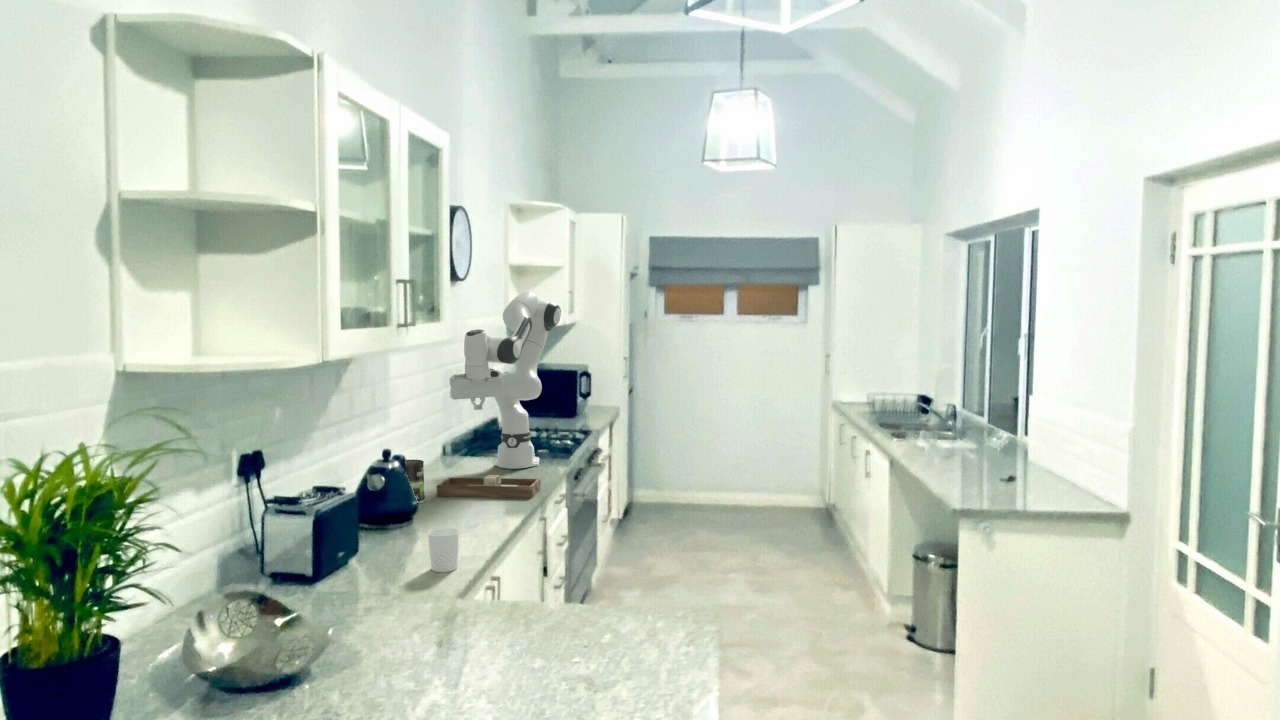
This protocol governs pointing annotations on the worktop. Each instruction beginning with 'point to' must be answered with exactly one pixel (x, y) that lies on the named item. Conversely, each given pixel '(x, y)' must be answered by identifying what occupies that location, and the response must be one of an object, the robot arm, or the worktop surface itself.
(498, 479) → the birch block
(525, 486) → the track
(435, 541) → the white cup
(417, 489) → the coffee can
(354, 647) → the worktop surface
